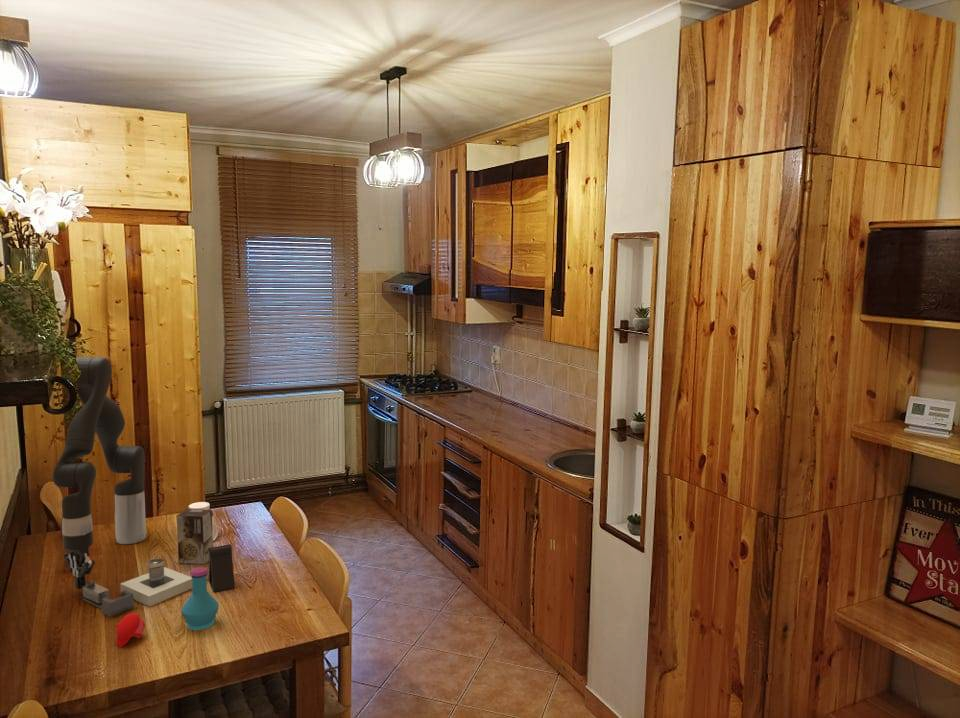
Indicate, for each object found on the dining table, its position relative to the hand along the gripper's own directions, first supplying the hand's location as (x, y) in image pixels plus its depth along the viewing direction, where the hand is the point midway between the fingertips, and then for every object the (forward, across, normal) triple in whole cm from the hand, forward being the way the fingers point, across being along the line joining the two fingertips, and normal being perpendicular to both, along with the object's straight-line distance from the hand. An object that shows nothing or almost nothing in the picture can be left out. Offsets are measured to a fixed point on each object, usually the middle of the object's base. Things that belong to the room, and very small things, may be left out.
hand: (80, 587), depth 199 cm
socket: (+2, +17, +13) cm, 21 cm away
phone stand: (+2, +29, +26) cm, 39 cm away
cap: (+2, +36, -6) cm, 37 cm away
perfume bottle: (+2, +44, +8) cm, 45 cm away
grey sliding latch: (+2, +12, 0) cm, 12 cm away
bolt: (+2, +8, 0) cm, 8 cm away
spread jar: (+2, -7, +46) cm, 47 cm away
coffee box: (+2, +7, +33) cm, 34 cm away
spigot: (+2, +17, +13) cm, 21 cm away
